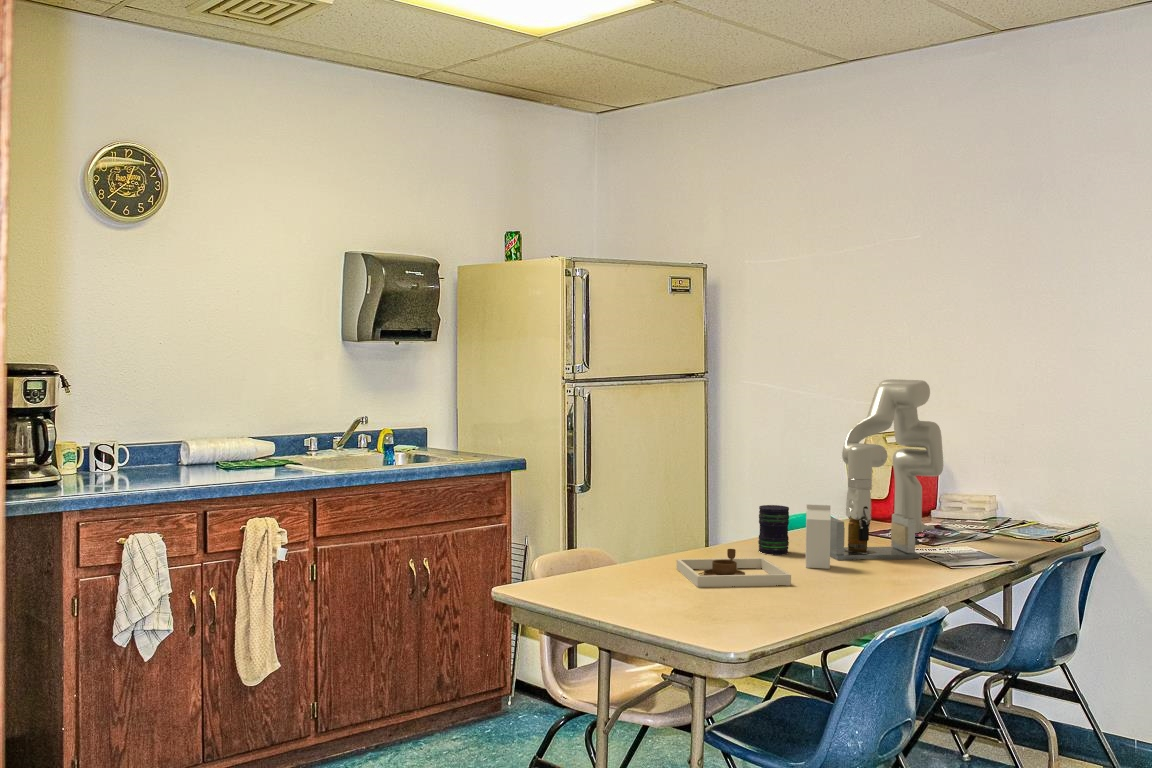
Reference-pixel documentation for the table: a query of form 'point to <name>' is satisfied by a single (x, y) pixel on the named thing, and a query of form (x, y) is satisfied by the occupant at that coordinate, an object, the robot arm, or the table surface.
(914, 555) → the vise base
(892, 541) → the block
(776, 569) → the serving tray rim
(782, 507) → the storage jar
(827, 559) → the milk carton
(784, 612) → the table surface
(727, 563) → the place setting
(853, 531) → the condiment
